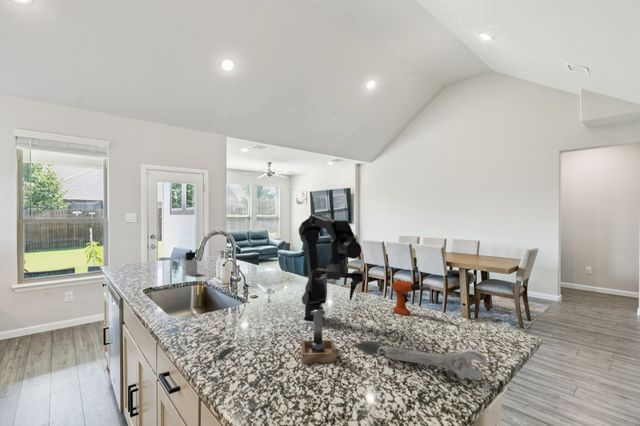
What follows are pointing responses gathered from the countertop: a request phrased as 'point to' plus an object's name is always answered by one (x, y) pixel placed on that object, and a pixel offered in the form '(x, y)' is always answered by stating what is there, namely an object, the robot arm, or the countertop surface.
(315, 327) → the chuck key
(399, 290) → the toy drill
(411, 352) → the wrench
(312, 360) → the tray
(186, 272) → the grey container
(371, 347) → the mat
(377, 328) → the countertop surface
